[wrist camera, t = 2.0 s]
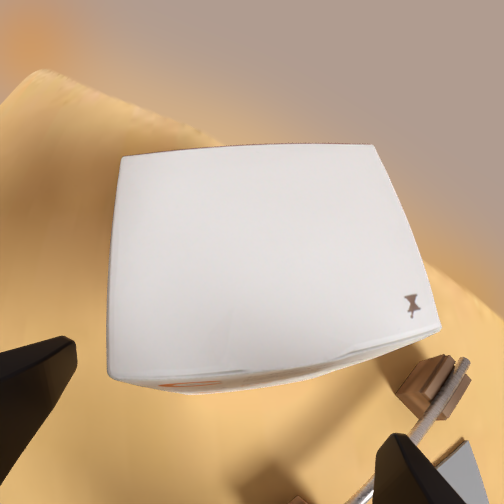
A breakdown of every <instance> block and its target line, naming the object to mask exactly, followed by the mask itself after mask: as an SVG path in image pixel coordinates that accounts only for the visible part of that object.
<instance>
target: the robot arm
mask: <svg viewBox="0 0 504 504" xmlns="http://www.w3.org/2000/svg"><path fill="white" fill-rule="evenodd" d="M76 368H77V352H76V344H75V342H74V341H73V340H71V339H69V338H67V337H65V336H59V337H55V338H52V339H48V340H44V341H41V342H37V343H34V344H30V345H27V346H23V347H19V348H16V349H12V350H8V351H5V352H1V353H0V485H1V484H2V482H3V481H4V479H5V478H6V476H7V475H8V473H9V472H10V470H11V469H12V467H13V466H14V464H15V463H16V461H17V460H18V458H19V457H20V455H21V454H22V452H23V451H24V449H25V448H26V446H27V445H28V444H29V442H30V441H31V439H32V438H33V436H34V435H35V434H36V432H37V431H38V429H39V428H40V427H41V425H42V424H43V422H44V421H45V420H46V418H47V417H48V415H49V414H50V413H51V411H52V410H53V408H54V407H55V405H56V403H57V402H58V400H59V398H60V396H61V394H62V393H63V391H64V389H65V387H66V386H67V384H68V382H69V381H70V379H71V377H72V375H73V374H74V372H75V370H76ZM372 504H466V502H465V501H464V500H463V499H462V498H461V497H460V496H459V494H458V493H457V492H456V491H455V490H454V489H453V488H452V486H451V485H450V484H449V483H448V482H447V481H446V480H445V478H444V477H443V476H442V475H441V474H440V473H439V472H438V470H437V469H436V468H435V467H434V466H433V465H432V463H431V462H430V461H429V460H428V459H427V458H426V457H425V455H424V454H423V453H422V452H421V451H420V450H419V449H418V447H417V446H416V445H415V444H414V443H413V442H412V440H411V439H410V438H409V437H408V436H407V435H406V434H401V433H393V434H391V435H390V436H389V437H388V439H387V440H386V441H385V442H384V443H383V445H382V446H381V447H380V448H379V450H378V451H377V454H376V462H375V476H374V487H373V500H372Z"/></svg>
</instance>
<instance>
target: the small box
mask: <svg viewBox="0 0 504 504" xmlns="http://www.w3.org/2000/svg"><path fill="white" fill-rule="evenodd" d="M441 328H442V326H441V323H440V320H439V316H438V313H437V309H436V305H435V301H434V298H433V294H432V290H431V287H430V283H429V280H428V277H427V273H426V270H425V267H424V264H423V261H422V258H421V255H420V252H419V250H418V247H417V244H416V242H415V239H414V236H413V233H412V230H411V228H410V225H409V223H408V220H407V218H406V215H405V213H404V211H403V208H402V206H401V203H400V201H399V199H398V197H397V194H396V192H395V190H394V187H393V185H392V183H391V180H390V178H389V176H388V174H387V172H386V170H385V168H384V166H383V164H382V162H381V160H380V158H379V156H378V154H377V151H376V149H375V148H374V146H373V145H371V144H343V143H285V144H283V143H281V144H252V145H233V146H220V147H204V148H193V149H182V150H172V151H163V152H155V153H146V154H138V155H131V156H123V157H122V158H121V163H120V170H119V177H118V183H117V190H116V198H115V205H114V213H113V222H112V231H111V242H110V254H109V268H108V287H107V320H106V348H107V373H108V375H109V377H111V378H112V379H114V380H117V381H121V382H125V383H129V384H133V385H137V386H142V387H148V388H153V389H158V390H163V391H168V392H175V393H181V394H186V395H198V394H212V393H223V392H232V391H241V390H249V389H256V388H263V387H270V386H277V385H282V384H288V383H293V382H298V381H303V380H308V379H312V378H316V377H318V376H321V375H324V374H327V373H330V372H333V371H336V370H339V369H342V368H345V367H349V366H352V365H355V364H358V363H361V362H364V361H367V360H370V359H373V358H376V357H378V356H381V355H384V354H386V353H389V352H392V351H394V350H397V349H399V348H402V347H404V346H407V345H409V344H412V343H415V342H417V341H419V340H421V339H424V338H426V337H428V336H430V335H433V334H435V333H437V332H439V331H440V330H441Z"/></svg>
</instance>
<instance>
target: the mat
mask: <svg viewBox="0 0 504 504" xmlns="http://www.w3.org/2000/svg"><path fill="white" fill-rule="evenodd" d="M435 468H436V469H437V470H438V472H439V473H440V474H441V475H442V476H443V477H444V478H445V480H446V481H447V482H448V483H449V484H450V485H451V486H452V488H453V489H454V490H455V491H456V492H457V493H458V494H459V496H460V497H461V498H462V499H463V500H464V501H465V502H466V504H489V501H488V498H487V494H486V491H485V488H484V485H483V481H482V478H481V475H480V472H479V469H478V466H477V463H476V460H475V457H474V455H473V452H472V449H471V446H470V444H469V441H467V440H465V441H464V442H463V443H462V444H461V445H460V446H459V447H458V448H457V449H456V450H454V451H453V452H452V453H451V454H450V455H449V456H448V457H447V458H446V459H444V460H443V461H442V462H441V463H440V464H439V465H437V466H436V467H435Z"/></svg>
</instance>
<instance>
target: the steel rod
mask: <svg viewBox="0 0 504 504" xmlns="http://www.w3.org/2000/svg"><path fill="white" fill-rule="evenodd" d="M470 364H471V363H470V361H469V360H468V359H467V358H465V357H461V358H459V360H458V362H457V363H456V365H455V367H454V368H453V370H452V372H451V373H450V375H449V377H448V378H447V380H446V381H445V383H444V384H443V386H442V388H441V389H440V391H439V392H438V394H437V395H436V397H435V398H434V399H433V401H432V402H431V404H430V405H429V407H428V408H427V409H426V411H425V412H424V414H423V415H422V416H421V418H420V419H419V420H418V422H417V423H416V424H415V426H414V427H413V428H412V430H411V431H410V432H409V434H408V435H407V436H408V437H409V438H410V439H411V440H412V442H413V443H414V444H415V445H416V446H417V445H418V444H419V442H420V441H421V440H422V438H423V437H424V436H425V434H426V433H427V432H428V430H429V429H430V427H431V426H432V425H433V423H434V422H435V420H436V419H437V418H438V416H439V415H440V413H441V412H442V410H443V409H444V407H445V406H446V404H447V403H448V401H449V400H450V398H451V396H452V395H453V393H454V392H455V390H456V388H457V387H458V385H459V383H460V382H461V380H462V378H463V377H464V375H465V373H466V371H467V370H468V368H469V366H470ZM374 476H375V473H374V474H373V475H372V477H371V478H370V479H369V480H368V481H367V482H366V483H365V484H364V485H363V486H362V487H361V488H360V489H359V490H358V491H357V492H356V493H355V494H354V495H353V496H352V497H351V498H350V499H349V500H348V501H347V502H346V503H345V504H366V503H367V502H368V501H369V500H370V499H371V498H372V497H373V487H374Z"/></svg>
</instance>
